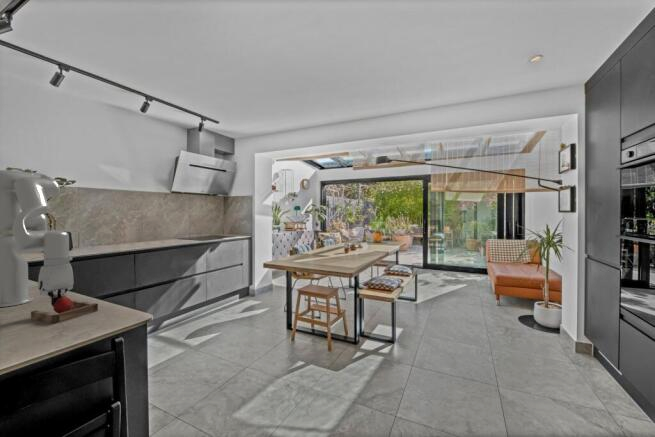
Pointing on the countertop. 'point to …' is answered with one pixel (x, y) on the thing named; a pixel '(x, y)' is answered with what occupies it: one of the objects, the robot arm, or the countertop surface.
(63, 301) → the onion
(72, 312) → the corral
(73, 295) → the countertop surface
